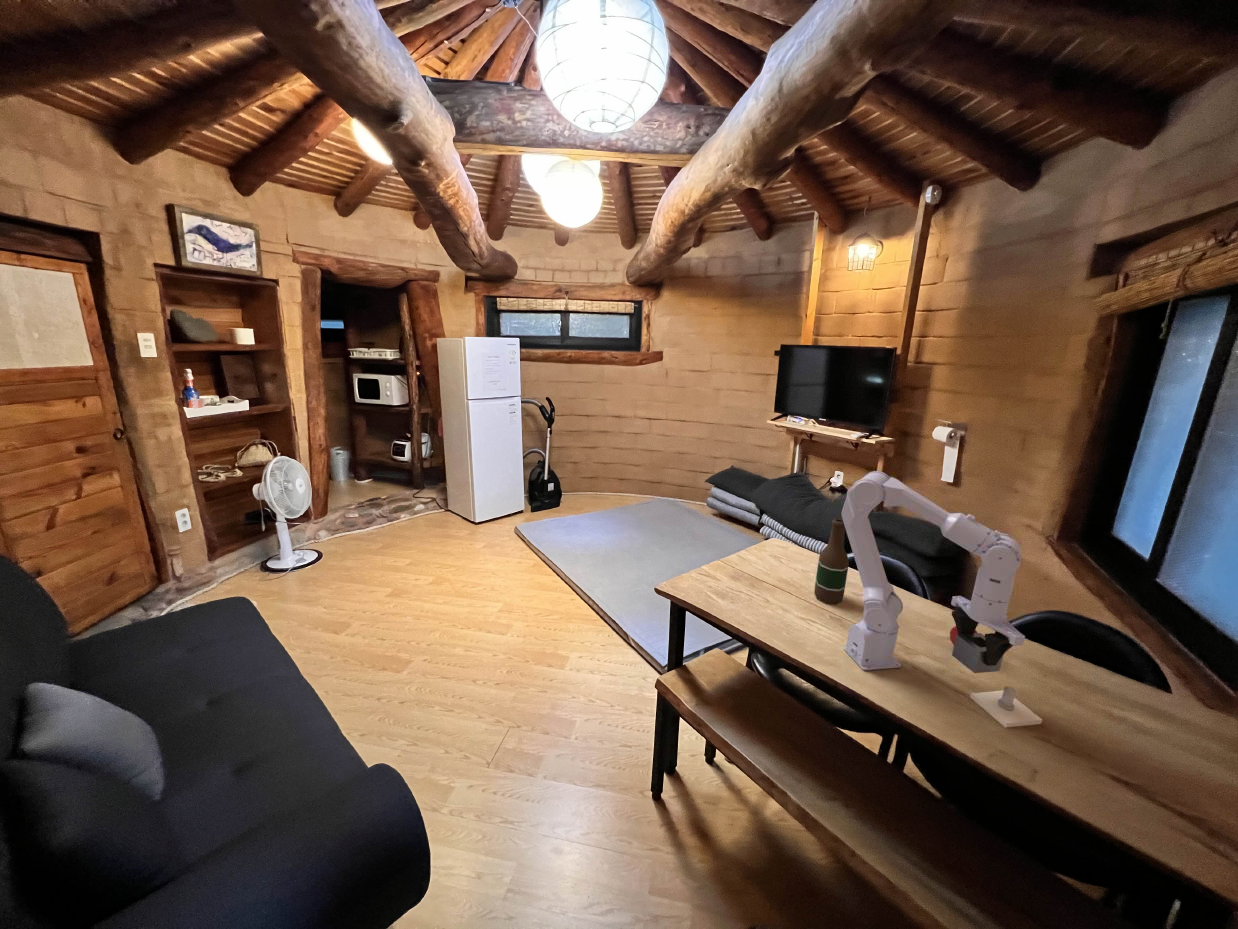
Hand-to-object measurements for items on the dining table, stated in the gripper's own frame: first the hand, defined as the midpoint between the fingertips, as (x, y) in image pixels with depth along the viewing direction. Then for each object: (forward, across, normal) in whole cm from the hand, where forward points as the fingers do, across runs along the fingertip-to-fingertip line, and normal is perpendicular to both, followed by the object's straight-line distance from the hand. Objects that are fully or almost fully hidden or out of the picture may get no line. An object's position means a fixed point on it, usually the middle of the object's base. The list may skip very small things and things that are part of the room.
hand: (976, 654), depth 97 cm
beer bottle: (+10, +39, +8) cm, 41 cm away
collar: (+2, 0, 0) cm, 2 cm away
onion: (+10, +13, -11) cm, 20 cm away
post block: (+10, -5, -4) cm, 12 cm away
